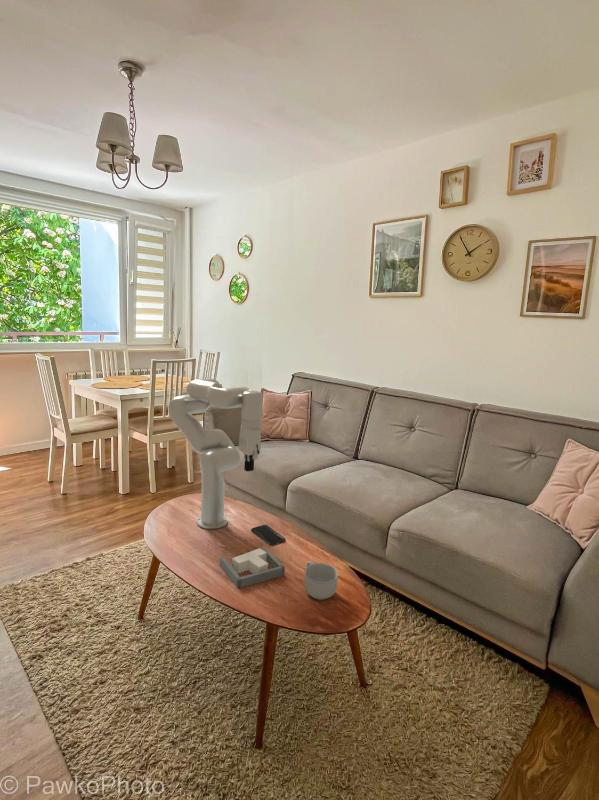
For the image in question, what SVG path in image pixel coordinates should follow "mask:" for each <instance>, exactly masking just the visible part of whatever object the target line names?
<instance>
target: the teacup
mask: <svg viewBox="0 0 599 800" xmlns="http://www.w3.org/2000/svg"><path fill="white" fill-rule="evenodd" d="M338 577H339V572H338V569H337V568H336V567H334V565H331V564H329V563H324V562H318V563H317V562H314V561H313V560H308V561H307V562H306V567H305V569H304V588H305V592H306V593H307V595H309V596H310V597H312V598H314V599H316V600H320V601H321V600H322V601H323V600H327V599H328V598H331V597H333V596H334V595H335V594H336V592H337V588H338Z"/></svg>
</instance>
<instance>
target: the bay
mask: <svg viewBox="0 0 599 800" xmlns="http://www.w3.org/2000/svg"><path fill="white" fill-rule="evenodd" d="M260 549H262V550H263V551H265V552H266V553H267V557H266V562H267V563H268V565H270V566H271V568H268V570H265V571H261V572H257V573H254V574H252V573H251V574H247V575H244V576H240V574H238V573H237V572H235V570H234V569H233V568H232V564H230V563H229V562H228V560H227V559H226V558H225V557H224V556H220V558H219V567H221V569H222V570H223V571H224V572H225V574H226V575H227V576H228V578H229V579H230V581H233V582H232V583H233V584H234V585H235V587H236V586H237V587H236V589H242V588H245V587H248V585H249V586H252V585H255V584H258V583H262V582H265V580H266V581H269V580H272V579H275V578H279V577H282V576H285V569H286V567H285V565H283V564H282V563H281V562H280V561H279V559H277V557H275V556H274V555H273V554H272V553H271V552H270V551H269V550H268V549H267V548H266V547H265V546H261V547H260ZM241 587H242V588H241Z"/></svg>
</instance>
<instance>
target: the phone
mask: <svg viewBox="0 0 599 800" xmlns="http://www.w3.org/2000/svg"><path fill="white" fill-rule="evenodd" d="M250 531H251V533H253V534H254V535H255V534H256V535H255V536H257V537H258V538H259V537H260V538H259V539H260V540H262V541H263V540H264V541H265V542H264V541H263V542H264V543H266V544H267V545H268V544H269V546H270V545H272V546H276V545H278V544H277V543H279V544H282V543H284V541H285V542H286V537H284V536H283V535H281V534H280V533H279V532H277V531H276V530H275V529H273V528H272V527H270V526H269V525H267V524H262V525H259V526H255V527H252V528H251V529H250ZM281 542H282V543H281ZM275 544H276V545H275Z"/></svg>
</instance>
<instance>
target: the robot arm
mask: <svg viewBox="0 0 599 800" xmlns="http://www.w3.org/2000/svg"><path fill="white" fill-rule="evenodd" d="M186 393H187V395H186V394H184V395H178V396H175V397H173V398H171V400H169V402H168V408H167V409H168V414H169V417H170V419H171V421H172V422H173V425H174V426H176V427H177V429H178V430H179V431H180V432H181V433H182V435H183V436H184V437H185V439H186V440H187V442H188V444H189V445H190V447H191V448H192V450H193V451H194V452H195V453H196V454H199V455H201V457H200V459H199V466H200V474H201V496H200V497H201V500H200V503H201V505H200V506H201V507H200V516H199V517H198V518H197V520H196V524H197V526H199V527H200V528H203V529H206V530H214V529H220V528H223V527H225V526H226V525H227V523H228V518H227V516H225V497H226V496H225V494H226V493H225V492H226V490H225V489H226V483H225V479H224V478H223V475H222V473H223V472H226V471H229V470H233V469H235V468H238V467H239V465H240V464H241V455H240V452H241V453H243V455H244V456H243V459H244V466H243V467H244V471H245V472H254V470H255V469H254V468H255V461H256V460H258V459H259V457H258V456H259V455H260V454H261V449H262V448H261V447H262V446H261V445H262V443H261V442H262V439H261V438H262V437H261V429H262V419H263V418H262V415H263V403H264V402H263V401H264V398H263V393H262V392H261V391H258V390H253V389H251V388H249V387H246V386H243V387H242V386H240V387H229V388H224V387H223V385H221V383H220V382H219V381H218V380H217V379H215V378H200V379H199V378H198V379H197V378H196V379H194V380H191V381H190V382H189V383H188V384H187V386H186ZM210 407H213V408H217V409H226V410H229V409H235V408H241V421H240V422H241V423H240V429H239V430H240V431H239V436H238V437H239V438H238V449H237V447H236V445H235V444H234V443H233V442H232V440H231V439H230V437H229V436H228V434H226V432H225V431H223V430H222V429H221V428H212V429H205V428H204V427H203V425H202V423H201V422H200V421H199V420H198V419H197V418H195V417H194V416H191V415H193V414H200V413H201V414H202V413H205V412H206V411H208V409H209V408H210Z"/></svg>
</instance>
